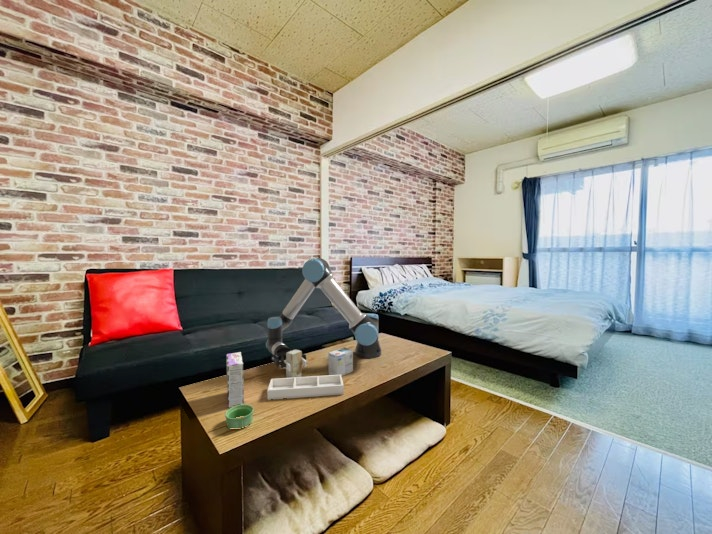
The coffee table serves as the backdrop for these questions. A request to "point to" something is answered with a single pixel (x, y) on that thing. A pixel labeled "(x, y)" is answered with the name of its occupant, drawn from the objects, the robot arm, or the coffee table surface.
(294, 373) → the skincare box
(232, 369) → the candy box
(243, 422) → the ramekin
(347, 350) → the light bulb box
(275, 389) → the compartment tray
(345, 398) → the coffee table surface
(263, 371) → the coffee table surface
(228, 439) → the coffee table surface
